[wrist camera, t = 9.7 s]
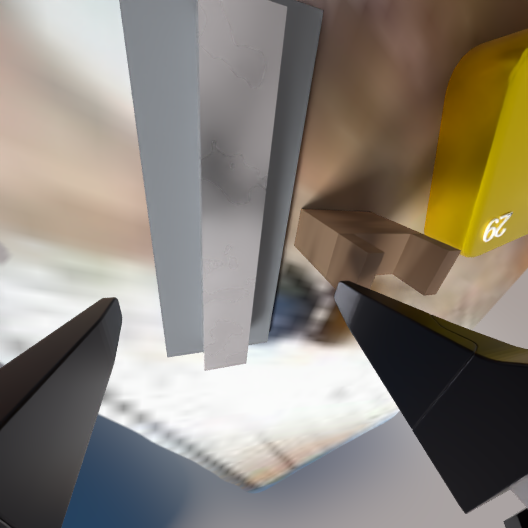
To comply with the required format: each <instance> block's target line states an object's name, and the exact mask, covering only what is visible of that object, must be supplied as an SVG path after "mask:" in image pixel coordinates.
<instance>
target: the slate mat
mask: <svg viewBox="0 0 528 528" xmlns="http://www.w3.org/2000/svg"><path fill="white" fill-rule="evenodd" d="M119 1H120V9H121V16H122V23H123V31H124V38H125V46H126V53H127V61H128V68H129V75H130V83H131V90H132V98H133V105H134V113H135V120H136V127H137V135H138V142H139V150H140V157H141V165H142V172H143V179H144V187H145V194H146V202H147V209H148V217H149V224H150V231H151V239H152V246H153V254H154V261H155V269H156V276H157V283H158V291H159V298H160V306H161V313H162V321H163V328H164V335H165V343H166V350H167V357H173V356H179V355H186V354H193V353H199V352H203V337H202V292H201V247H200V201H199V156H198V111H197V66H196V21H195V15H196V0H119ZM269 1H272V2H275V3H278V4H281V5H284V6H287V14H286V23H285V31H284V40H283V49H282V57H281V66H280V75H279V83H278V92H277V101H276V109H275V118H274V127H273V135H272V144H271V152H270V161H269V170H268V178H267V187H266V196H265V204H264V213H263V222H262V230H261V239H260V248H259V256H258V265H257V274H256V282H255V291H254V299H253V308H252V317H251V325H250V334H249V343H248V345H252V344H259V343H265V342H267V340H268V334H269V328H270V322H271V316H272V310H273V304H274V299H275V293H276V287H277V281H278V275H279V269H280V263H281V257H282V252H283V246H284V240H285V234H286V228H287V222H288V216H289V211H290V205H291V199H292V193H293V187H294V181H295V175H296V169H297V164H298V158H299V152H300V146H301V140H302V134H303V128H304V123H305V117H306V111H307V105H308V99H309V93H310V87H311V81H312V76H313V70H314V64H315V58H316V52H317V46H318V40H319V35H320V29H321V23H322V17H323V11H324V10H321V9H319V8H316V7H313V6H310V5H307V4H304V3H301V2H299V1H296V0H269Z"/></svg>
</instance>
